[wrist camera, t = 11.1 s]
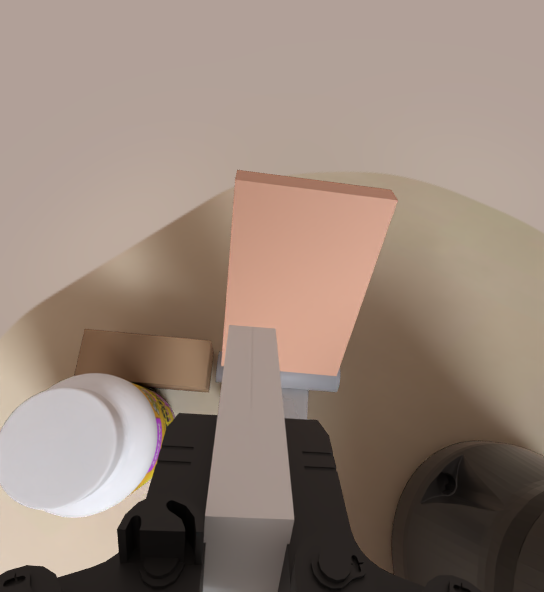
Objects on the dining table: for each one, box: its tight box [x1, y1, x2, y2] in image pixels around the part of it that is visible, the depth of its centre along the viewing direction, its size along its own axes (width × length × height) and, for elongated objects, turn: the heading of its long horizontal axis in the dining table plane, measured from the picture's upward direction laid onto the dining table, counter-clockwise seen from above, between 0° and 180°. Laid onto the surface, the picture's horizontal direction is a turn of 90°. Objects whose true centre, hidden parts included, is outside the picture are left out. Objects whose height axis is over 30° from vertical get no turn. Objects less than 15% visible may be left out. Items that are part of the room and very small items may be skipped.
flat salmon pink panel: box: [216, 170, 398, 392], centre depth 18 cm, size 6×11×2 cm
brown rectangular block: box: [74, 329, 214, 392], centre depth 27 cm, size 8×3×5 cm, turn 86°
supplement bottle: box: [0, 373, 175, 518], centre depth 22 cm, size 7×7×13 cm
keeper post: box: [281, 388, 308, 419], centre depth 26 cm, size 4×4×8 cm
